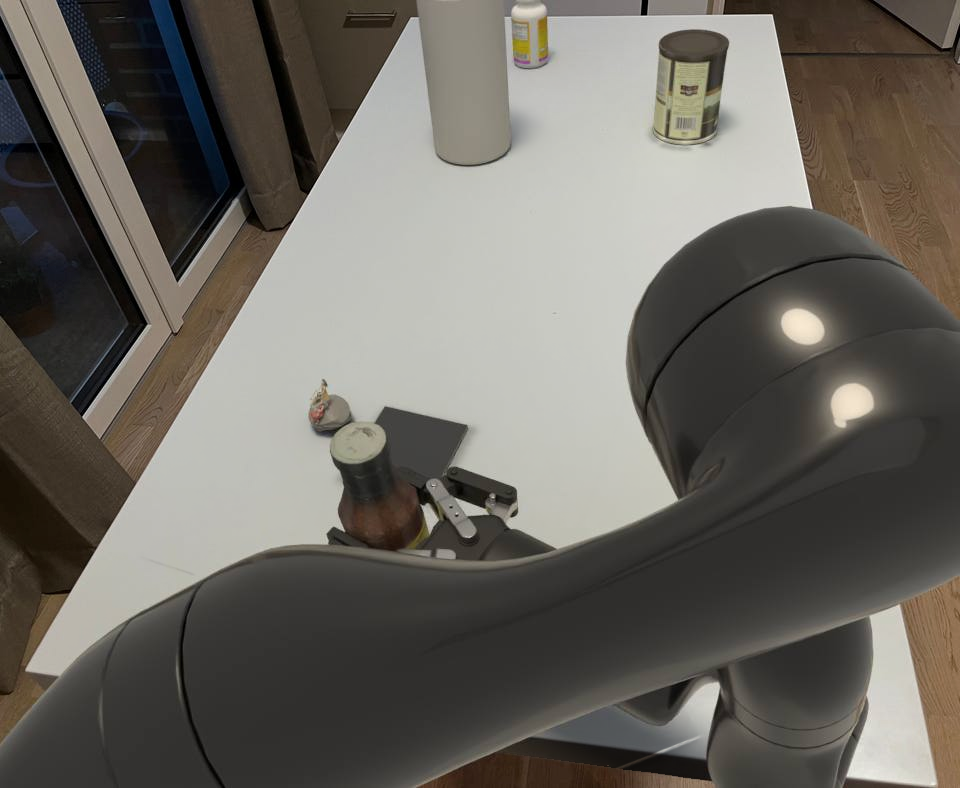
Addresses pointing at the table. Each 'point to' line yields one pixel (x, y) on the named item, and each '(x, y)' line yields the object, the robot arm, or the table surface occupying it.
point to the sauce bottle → (375, 491)
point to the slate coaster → (421, 441)
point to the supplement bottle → (529, 33)
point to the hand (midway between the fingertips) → (360, 505)
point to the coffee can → (689, 85)
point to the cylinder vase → (466, 78)
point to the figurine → (328, 410)
